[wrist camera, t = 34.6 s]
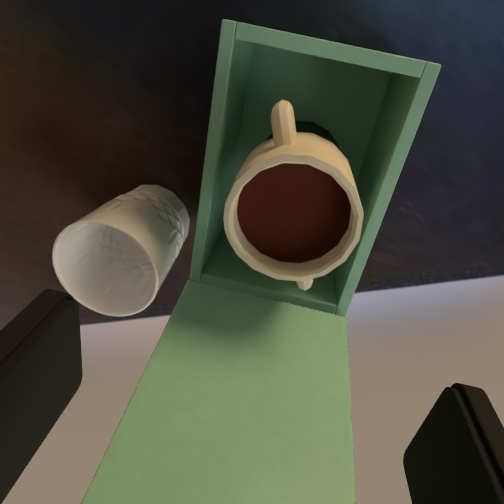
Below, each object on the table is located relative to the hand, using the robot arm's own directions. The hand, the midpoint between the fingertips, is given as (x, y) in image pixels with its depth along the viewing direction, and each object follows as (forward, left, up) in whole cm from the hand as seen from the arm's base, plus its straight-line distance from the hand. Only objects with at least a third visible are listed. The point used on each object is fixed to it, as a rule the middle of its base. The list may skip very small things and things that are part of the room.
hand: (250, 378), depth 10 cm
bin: (0, 0, -25) cm, 25 cm away
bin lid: (+9, 0, -7) cm, 11 cm away
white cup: (+9, -11, -25) cm, 28 cm away
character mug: (0, +1, -24) cm, 24 cm away
